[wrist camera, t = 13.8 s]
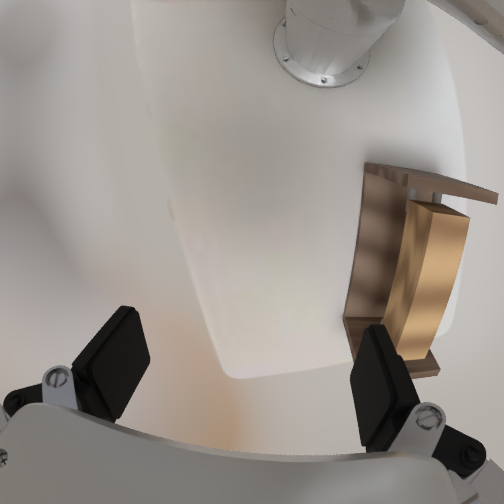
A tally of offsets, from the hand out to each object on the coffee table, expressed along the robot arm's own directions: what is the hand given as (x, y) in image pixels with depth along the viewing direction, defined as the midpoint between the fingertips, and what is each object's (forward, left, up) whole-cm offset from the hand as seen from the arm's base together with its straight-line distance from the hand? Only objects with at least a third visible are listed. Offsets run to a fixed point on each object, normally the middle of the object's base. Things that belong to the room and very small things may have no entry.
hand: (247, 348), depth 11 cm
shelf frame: (+6, +18, -28) cm, 34 cm away
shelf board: (+6, +18, -21) cm, 28 cm away
